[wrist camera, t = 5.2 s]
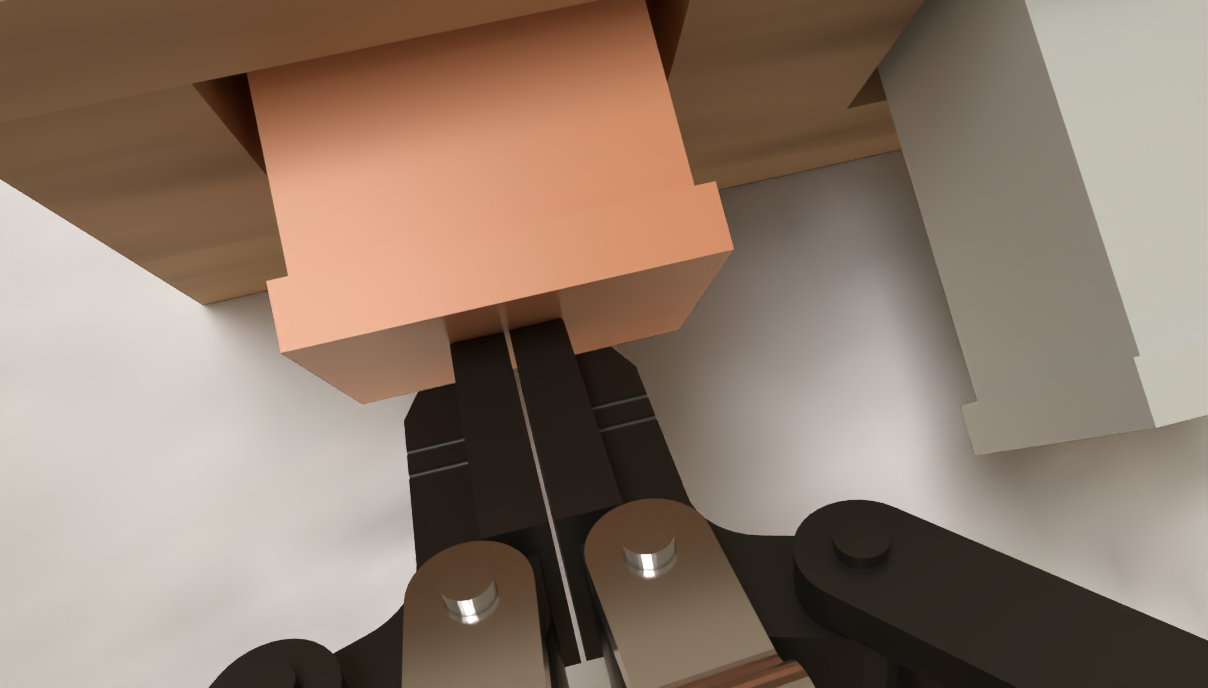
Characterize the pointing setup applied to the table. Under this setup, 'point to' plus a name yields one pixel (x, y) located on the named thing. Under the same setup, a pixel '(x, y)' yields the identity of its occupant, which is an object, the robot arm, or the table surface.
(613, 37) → the salmon key
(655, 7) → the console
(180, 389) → the table surface
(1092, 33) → the grey key
